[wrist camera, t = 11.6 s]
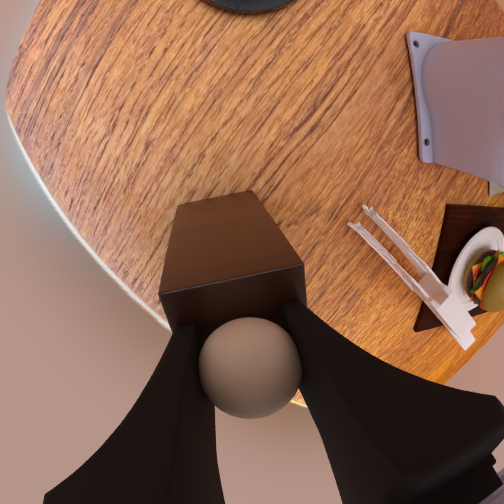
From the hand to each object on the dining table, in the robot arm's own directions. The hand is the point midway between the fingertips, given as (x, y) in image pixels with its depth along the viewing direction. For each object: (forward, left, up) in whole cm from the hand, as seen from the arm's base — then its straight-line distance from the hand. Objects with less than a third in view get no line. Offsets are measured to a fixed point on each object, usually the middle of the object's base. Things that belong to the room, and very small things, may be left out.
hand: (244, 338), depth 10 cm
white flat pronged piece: (-7, -14, -10) cm, 18 cm away
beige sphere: (0, 0, +1) cm, 1 cm away
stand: (0, 0, -10) cm, 10 cm away
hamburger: (-8, -22, -10) cm, 26 cm away
